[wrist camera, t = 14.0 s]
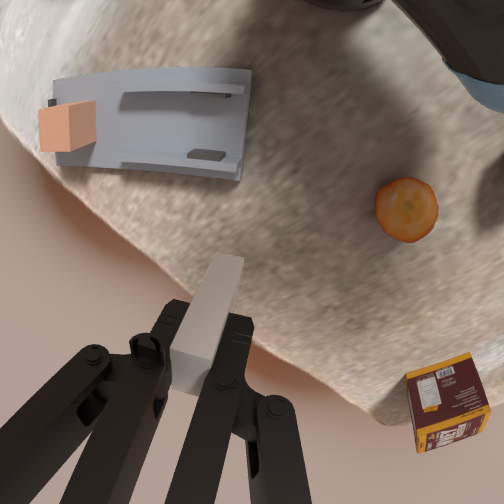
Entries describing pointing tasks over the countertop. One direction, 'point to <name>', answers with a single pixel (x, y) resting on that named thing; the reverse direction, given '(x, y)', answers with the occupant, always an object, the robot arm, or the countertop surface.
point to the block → (67, 126)
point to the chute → (163, 119)
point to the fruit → (406, 209)
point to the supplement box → (446, 402)
